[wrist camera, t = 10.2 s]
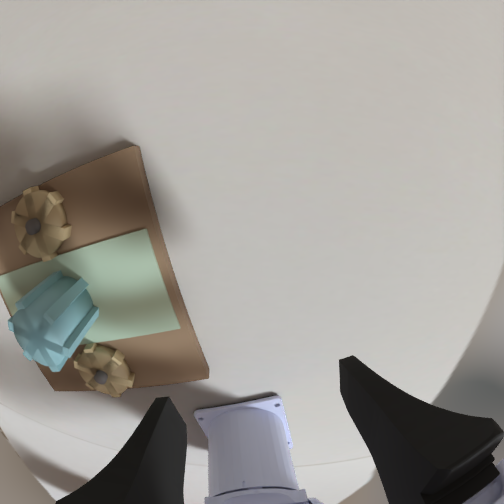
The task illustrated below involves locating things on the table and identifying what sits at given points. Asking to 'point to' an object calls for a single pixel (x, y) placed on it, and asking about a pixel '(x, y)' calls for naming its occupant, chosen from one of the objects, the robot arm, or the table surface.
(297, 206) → the table surface
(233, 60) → the table surface
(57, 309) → the teal gear
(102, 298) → the gear board
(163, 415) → the robot arm
